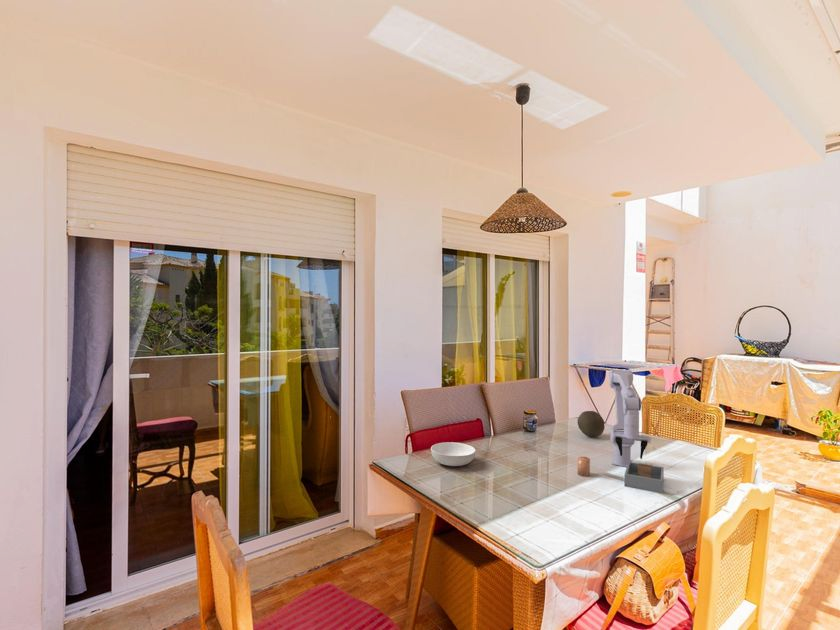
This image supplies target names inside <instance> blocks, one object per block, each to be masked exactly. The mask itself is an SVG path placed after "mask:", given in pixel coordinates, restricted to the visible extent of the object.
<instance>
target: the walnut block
mask: <svg viewBox="0 0 840 630" xmlns="http://www.w3.org/2000/svg"><path fill="white" fill-rule="evenodd" d="M638 463H639V462H638ZM652 466H653V465H652V464H647V463H641V462H640V463H639V464H638V476H642V477H647V478H652Z"/></svg>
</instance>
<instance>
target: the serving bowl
mask: <svg viewBox="0 0 840 630" xmlns="http://www.w3.org/2000/svg"><path fill="white" fill-rule="evenodd" d="M430 452H431V455H432V458H433V459H434V460H435V461H436V462H437V463H439V464H442V465H445V466H448V467H461V466H465V465H468V464H469V463H471V462H472V461H473V460H474V458H475V456H476V452H477V451H476V449H475V447H474V446H472V445H470V444H466V443H463V442H453V441H451V442H449V441H448V442H447V441H446V442H439V443H435V444H433V445H431V447H430Z"/></svg>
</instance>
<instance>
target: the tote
mask: <svg viewBox="0 0 840 630" xmlns="http://www.w3.org/2000/svg"><path fill="white" fill-rule="evenodd" d="M638 464H639V462H634V461H632V462H628V465H627V467H625V468H626V469H625V471H624V487H626V488H632V489H636V490H642V491H648V492H651V493H657V494H664V493H663V492H664V475H665V473H664V472H665V471H664V470H665V469H664V467H662V466H657V465H652V478H647V477H642V476H638Z"/></svg>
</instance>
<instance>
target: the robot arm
mask: <svg viewBox="0 0 840 630" xmlns="http://www.w3.org/2000/svg"><path fill="white" fill-rule="evenodd" d="M608 376H609V378H608V379H609V387H610V388H611V389H613V392H614V400H615V402H614V403H615V417H616V418H615V419H616V422H615V424H613V425H612V426H611V427H610V432H609V433H610V434H609V435H610V436H609V437H610V438H609V439H610V442H611V443H612V444H613V459H612V461H611V465H614V466H619V467H625V468H627V465H628V462H633V460H631V452H632V451H631V448H632V447H633V445H635V441H636V442H637V441H638V442H640V454H639V459H640V460H643V455H644V453H645V450H646V448H647V446H648V443H649V444H651V441H652V438H651V437H652V436H651V437H650V436H646V435H645V436H644V435H641V434H640V411H641V409H642V400H641V397H640V396H637V393H636V391H635V388H634V387H633V386H632V383H634V373H633V371H632V370H630V369H629V370H624V369H623V370H622V369H621V370H620V369H610V370H609V373H608Z"/></svg>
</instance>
